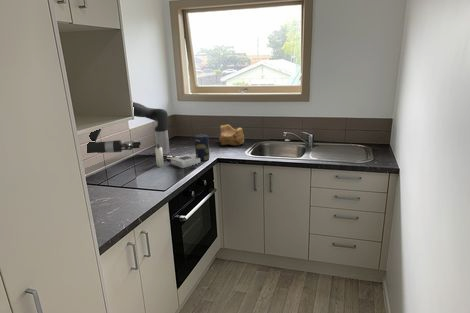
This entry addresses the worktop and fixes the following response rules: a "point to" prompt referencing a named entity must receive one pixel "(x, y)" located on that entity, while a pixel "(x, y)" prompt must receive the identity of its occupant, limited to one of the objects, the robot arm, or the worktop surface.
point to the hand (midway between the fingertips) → (140, 144)
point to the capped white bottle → (159, 156)
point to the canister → (202, 146)
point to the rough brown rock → (231, 135)
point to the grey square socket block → (185, 161)
